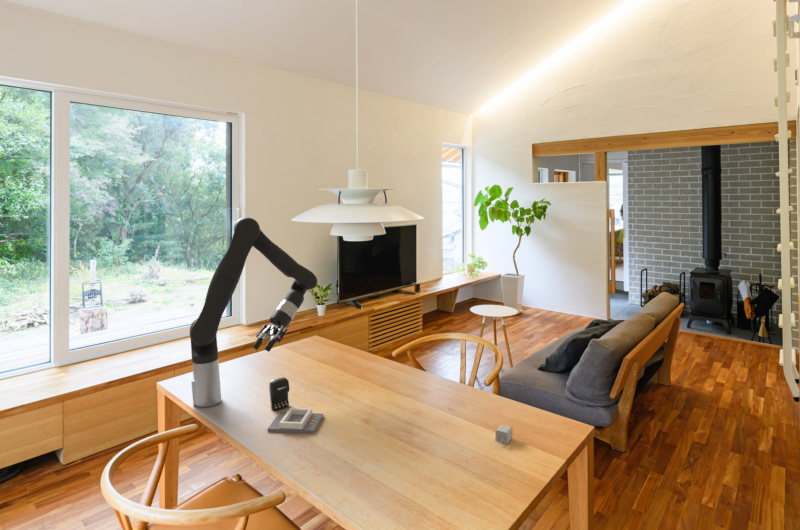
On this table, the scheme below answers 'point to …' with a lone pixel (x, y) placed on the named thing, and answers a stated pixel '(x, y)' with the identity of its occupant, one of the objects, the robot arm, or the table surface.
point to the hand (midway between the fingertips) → (260, 349)
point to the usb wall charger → (504, 434)
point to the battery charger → (279, 393)
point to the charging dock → (296, 421)
